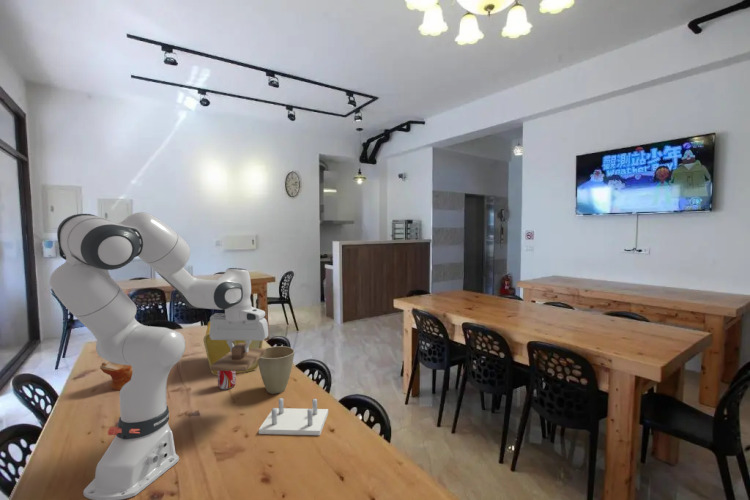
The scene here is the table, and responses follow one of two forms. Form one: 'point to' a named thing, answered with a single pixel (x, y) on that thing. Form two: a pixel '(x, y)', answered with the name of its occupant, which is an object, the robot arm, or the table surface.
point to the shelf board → (238, 359)
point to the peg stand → (294, 420)
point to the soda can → (226, 379)
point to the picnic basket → (224, 349)
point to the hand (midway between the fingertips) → (239, 352)
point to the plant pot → (276, 368)
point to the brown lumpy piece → (117, 373)
